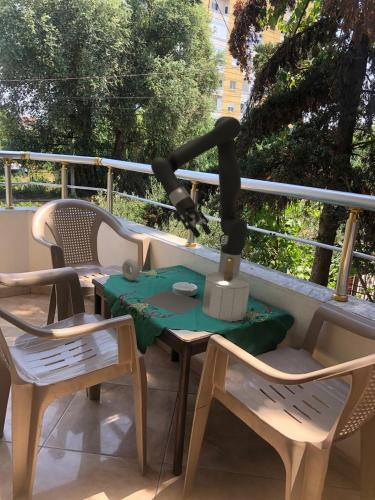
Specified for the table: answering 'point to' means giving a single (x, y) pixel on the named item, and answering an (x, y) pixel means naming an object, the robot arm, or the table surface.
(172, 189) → the robot arm
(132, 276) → the donut
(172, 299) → the mat
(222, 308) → the cylinder
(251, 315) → the table surface
